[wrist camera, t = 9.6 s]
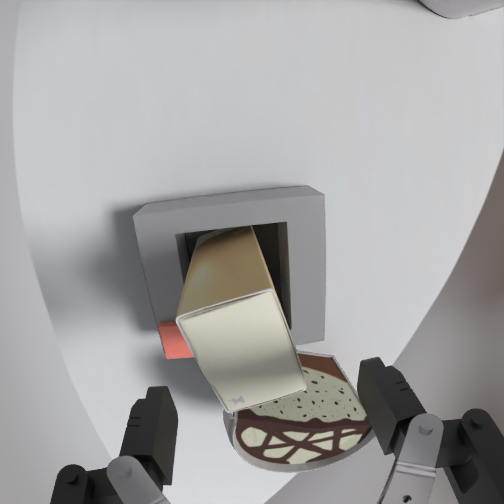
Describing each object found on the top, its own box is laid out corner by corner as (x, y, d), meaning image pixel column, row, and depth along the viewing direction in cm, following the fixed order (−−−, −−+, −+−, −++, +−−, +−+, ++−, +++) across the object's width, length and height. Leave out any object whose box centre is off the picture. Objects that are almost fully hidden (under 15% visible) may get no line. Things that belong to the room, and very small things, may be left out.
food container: (207, 385, 29) (207, 470, 19) (222, 336, 27) (226, 425, 18) (321, 400, 31) (348, 473, 22) (346, 357, 29) (385, 431, 20)
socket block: (307, 185, 23) (327, 196, 19) (311, 314, 27) (326, 344, 23) (146, 203, 23) (130, 218, 18) (172, 330, 26) (165, 364, 22)
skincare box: (273, 287, 26) (311, 394, 14) (223, 304, 26) (228, 419, 14) (248, 213, 24) (276, 286, 12) (193, 233, 24) (171, 320, 12)
